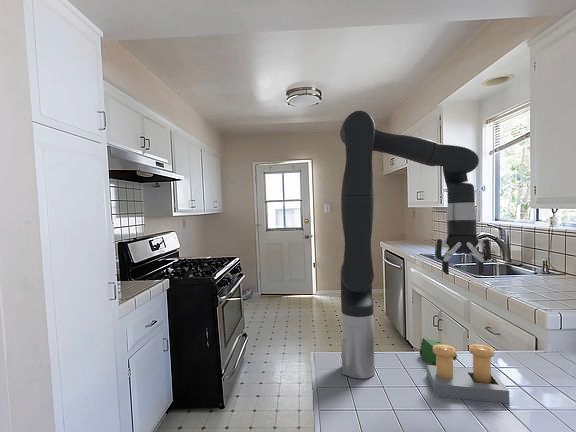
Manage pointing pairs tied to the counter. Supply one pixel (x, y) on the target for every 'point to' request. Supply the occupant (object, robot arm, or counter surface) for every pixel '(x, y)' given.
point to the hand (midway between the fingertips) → (462, 274)
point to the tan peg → (481, 363)
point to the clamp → (429, 351)
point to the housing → (461, 380)
